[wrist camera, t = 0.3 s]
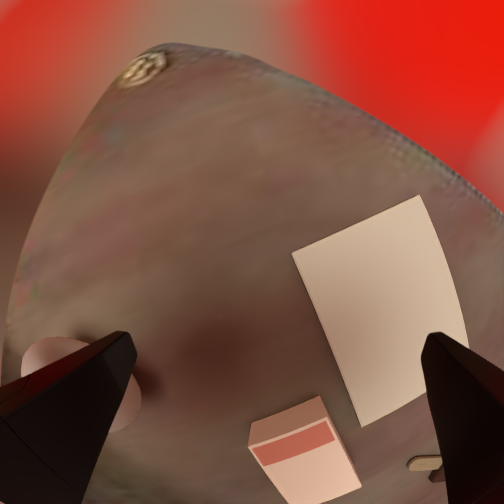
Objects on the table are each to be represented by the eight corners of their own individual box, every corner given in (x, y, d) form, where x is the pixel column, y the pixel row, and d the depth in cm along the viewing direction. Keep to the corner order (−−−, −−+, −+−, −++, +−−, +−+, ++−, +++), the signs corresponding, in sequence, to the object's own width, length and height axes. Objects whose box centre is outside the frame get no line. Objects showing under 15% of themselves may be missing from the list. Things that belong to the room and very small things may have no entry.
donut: (165, 378, 21) (104, 434, 11) (154, 408, 21) (96, 467, 11) (77, 321, 22) (-2, 337, 12) (70, 351, 22) (-4, 375, 12)
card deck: (352, 462, 19) (362, 487, 15) (293, 484, 20) (294, 511, 15) (318, 394, 20) (327, 416, 16) (251, 421, 20) (247, 446, 16)
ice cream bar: (394, 477, 19) (478, 468, 17) (399, 486, 17) (484, 473, 16) (418, 439, 19) (498, 435, 17) (425, 447, 17) (505, 440, 16)
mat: (468, 357, 19) (471, 359, 18) (360, 424, 19) (361, 427, 19) (416, 196, 21) (419, 194, 20) (290, 253, 21) (291, 252, 20)
